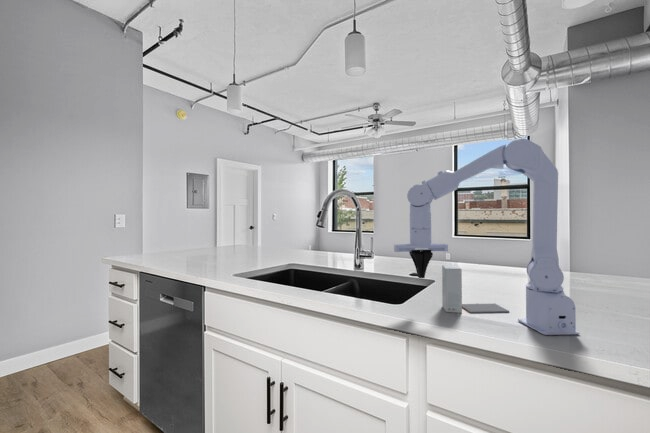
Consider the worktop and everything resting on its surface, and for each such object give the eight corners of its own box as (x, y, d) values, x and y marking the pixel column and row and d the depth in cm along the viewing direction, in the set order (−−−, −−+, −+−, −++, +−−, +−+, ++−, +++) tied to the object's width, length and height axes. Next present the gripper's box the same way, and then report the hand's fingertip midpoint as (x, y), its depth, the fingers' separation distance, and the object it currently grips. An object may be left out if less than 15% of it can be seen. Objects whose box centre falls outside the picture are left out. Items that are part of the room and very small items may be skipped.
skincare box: (462, 313, 84) (462, 268, 83) (445, 312, 84) (445, 268, 84) (457, 306, 89) (457, 265, 89) (442, 306, 90) (441, 264, 90)
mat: (509, 312, 83) (509, 311, 83) (470, 313, 83) (470, 311, 83) (494, 304, 90) (494, 303, 90) (458, 305, 90) (458, 304, 90)
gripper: (440, 227, 91) (441, 274, 91) (391, 228, 91) (391, 274, 91) (450, 228, 84) (451, 279, 84) (397, 229, 84) (397, 280, 84)
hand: (421, 277), depth 87 cm, fingers closed
